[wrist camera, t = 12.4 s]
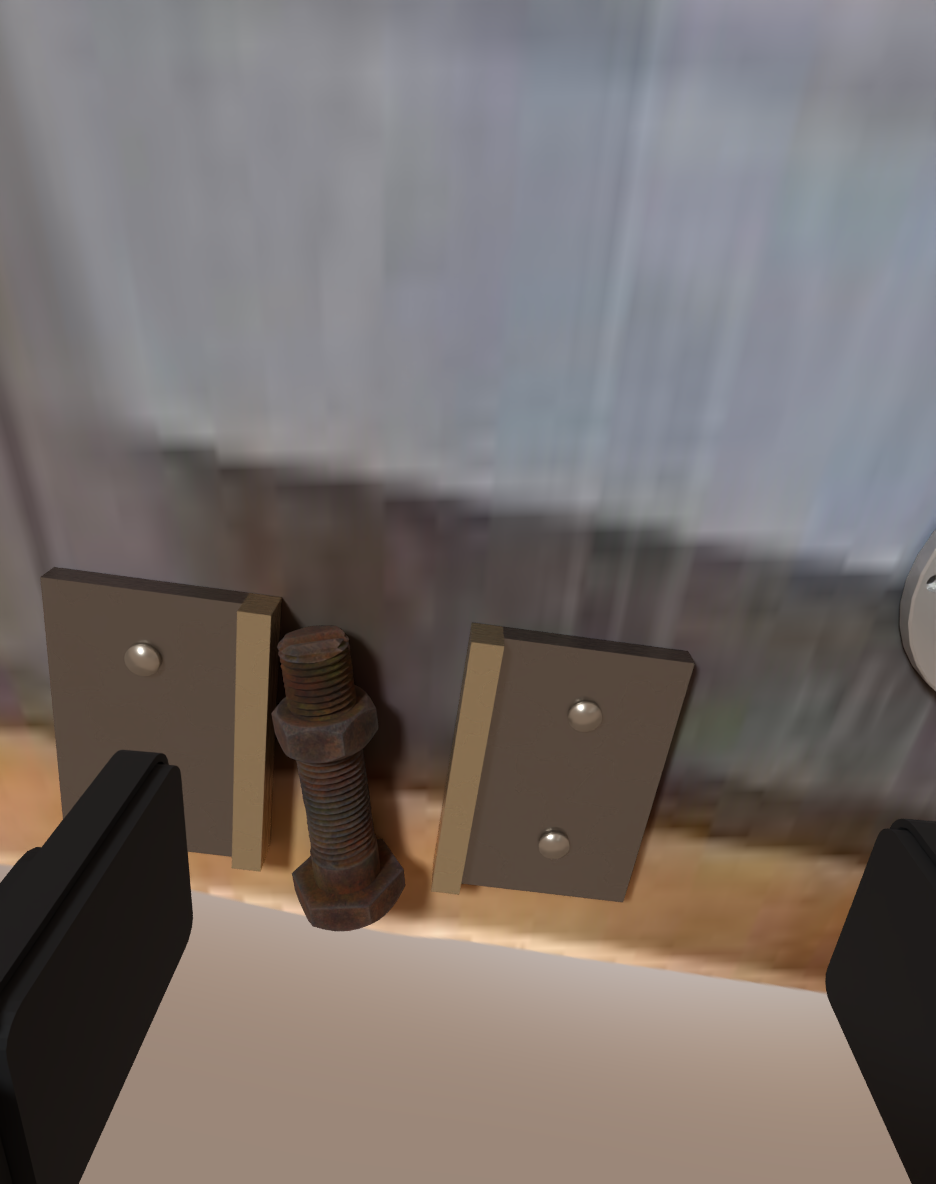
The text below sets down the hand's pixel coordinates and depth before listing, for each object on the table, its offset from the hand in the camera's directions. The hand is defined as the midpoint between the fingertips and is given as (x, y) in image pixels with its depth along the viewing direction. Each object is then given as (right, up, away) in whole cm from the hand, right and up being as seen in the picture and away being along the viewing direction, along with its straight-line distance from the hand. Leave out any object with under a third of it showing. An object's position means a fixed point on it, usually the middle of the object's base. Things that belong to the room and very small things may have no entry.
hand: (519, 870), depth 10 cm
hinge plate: (-6, -4, +29) cm, 29 cm away
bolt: (-7, -4, +29) cm, 30 cm away
